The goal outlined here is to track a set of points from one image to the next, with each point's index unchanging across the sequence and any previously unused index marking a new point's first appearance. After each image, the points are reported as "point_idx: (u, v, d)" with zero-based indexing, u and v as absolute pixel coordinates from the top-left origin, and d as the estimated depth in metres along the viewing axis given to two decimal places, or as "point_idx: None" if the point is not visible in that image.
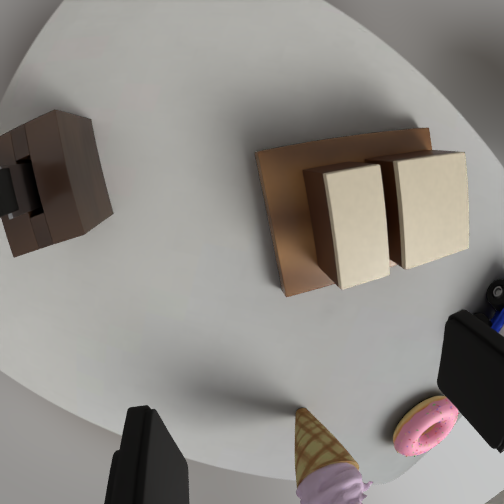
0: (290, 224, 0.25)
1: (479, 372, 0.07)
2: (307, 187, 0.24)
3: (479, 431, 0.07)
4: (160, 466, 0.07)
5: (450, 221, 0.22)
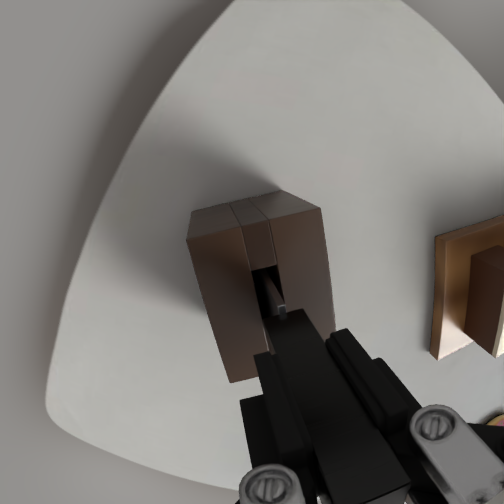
0: (454, 302, 0.24)
1: None
2: (474, 271, 0.23)
3: None
4: None
5: None
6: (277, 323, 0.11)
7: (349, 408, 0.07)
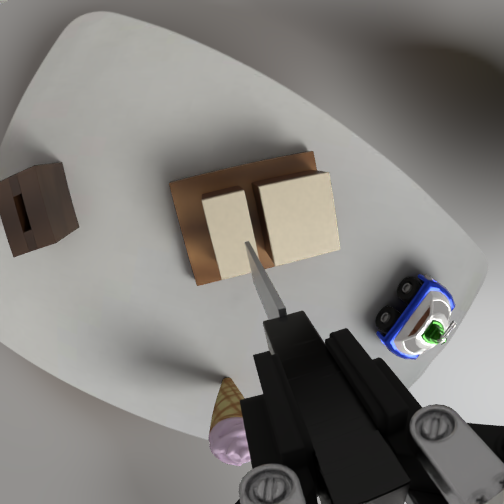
0: (195, 233, 0.35)
1: None
2: None
3: None
4: None
5: (316, 228, 0.32)
6: (277, 325, 0.11)
7: (349, 409, 0.07)
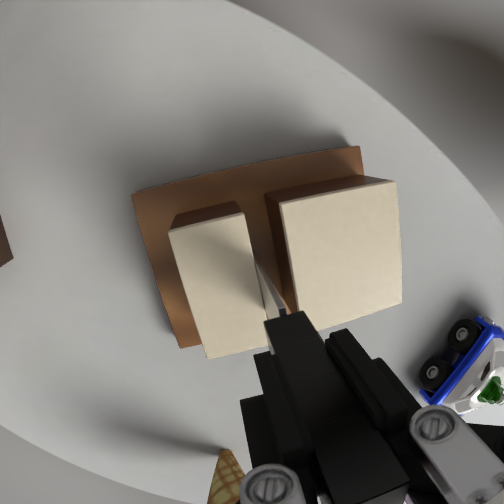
0: (173, 274, 0.22)
1: None
2: None
3: None
4: None
5: (370, 273, 0.19)
6: (277, 325, 0.11)
7: (348, 408, 0.07)
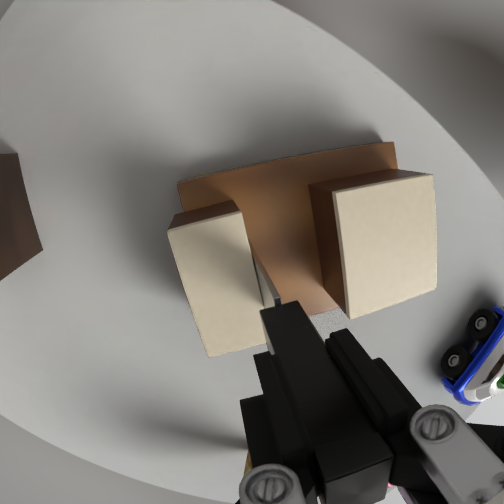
0: None
1: None
2: None
3: None
4: None
5: (411, 260, 0.19)
6: (273, 314, 0.12)
7: (337, 389, 0.08)
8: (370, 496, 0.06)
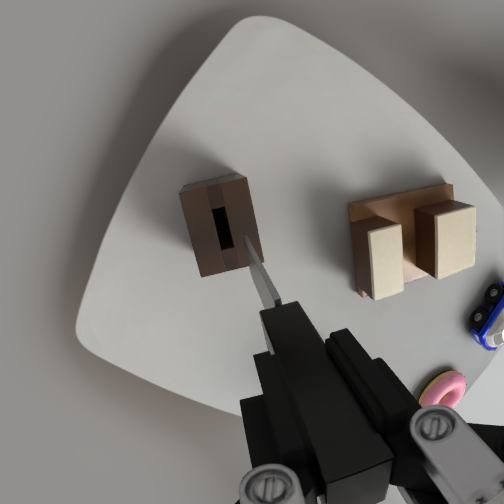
0: None
1: None
2: (353, 234, 0.36)
3: None
4: None
5: (464, 249, 0.34)
6: (273, 315, 0.12)
7: (338, 390, 0.08)
8: (371, 496, 0.06)
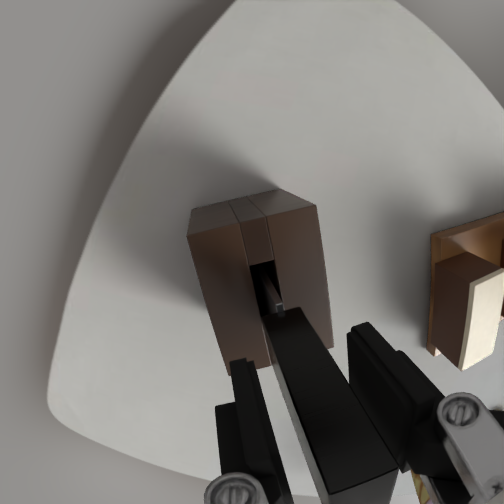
0: None
1: (373, 388, 0.08)
2: (438, 280, 0.23)
3: None
4: None
5: None
6: (275, 320, 0.12)
7: (341, 399, 0.07)
8: None
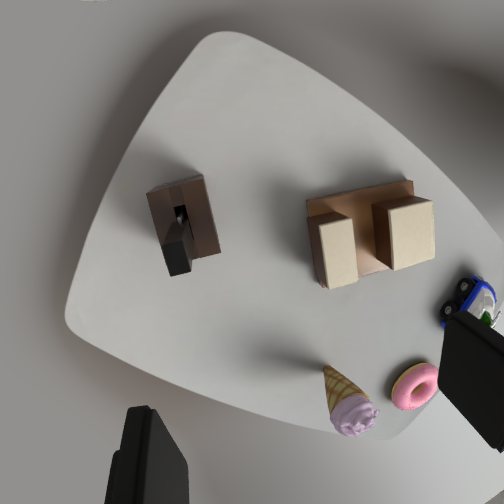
0: None
1: (479, 372, 0.07)
2: (309, 228, 0.40)
3: (479, 431, 0.07)
4: (160, 466, 0.07)
5: (421, 242, 0.38)
6: (175, 222, 0.29)
7: (179, 232, 0.25)
8: (182, 264, 0.23)
